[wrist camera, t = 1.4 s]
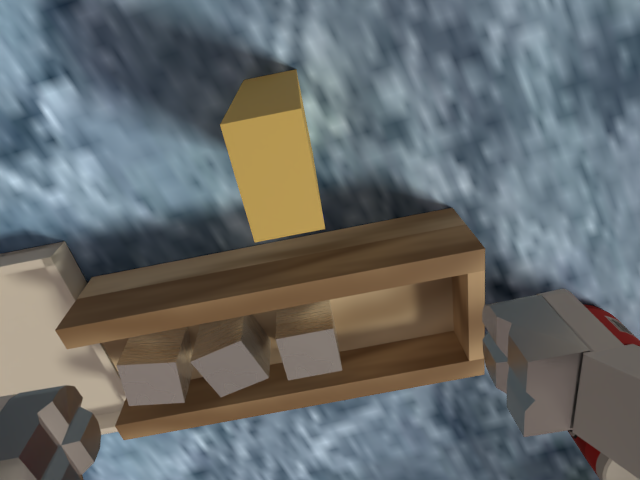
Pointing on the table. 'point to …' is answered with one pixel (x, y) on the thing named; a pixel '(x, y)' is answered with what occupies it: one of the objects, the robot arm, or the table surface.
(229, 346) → the grey piece
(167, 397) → the grey and brown cube
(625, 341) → the canned food
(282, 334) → the grey cubic block
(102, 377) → the tray
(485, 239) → the table surface
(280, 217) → the block
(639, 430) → the robot arm
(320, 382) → the open wooden box
